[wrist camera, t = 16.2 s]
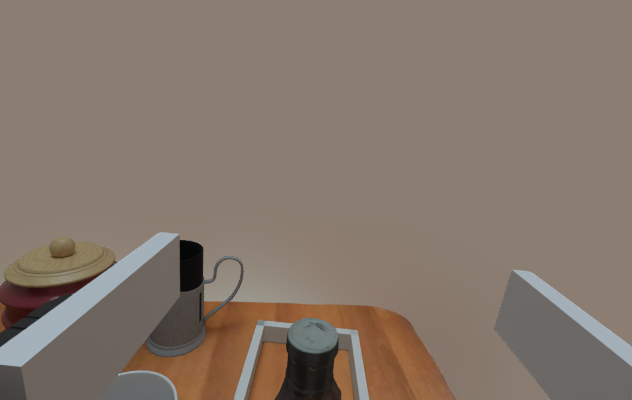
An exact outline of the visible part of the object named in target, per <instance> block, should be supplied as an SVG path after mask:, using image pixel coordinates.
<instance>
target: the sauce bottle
mask: <svg viewBox="0 0 632 400" xmlns="http://www.w3.org/2000/svg"><path fill="white" fill-rule="evenodd" d="M286 349H287V352H288V362H287V369H286V376H285V379H284V382H283V384H282V387H281V389H280V392H279V393H278V395H277V396H276V398H275V400H341V391H340V389H339V388H338V386H337V384H336V382H335V380H334V378H333V367H334V358H335V357H336V355H337V353H338V349H339V336H338V332H337V331H336V329H335V328H334V327H333V326H332V325H331V324H330V323H328V322H326V321H324V320H321V319H315V318H304V319H300V320H298V321H296V322H295V323H294V324H292V325H291V327H290V328H289V330H288V333H287V341H286Z"/></svg>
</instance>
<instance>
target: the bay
mask: <svg viewBox="0 0 632 400" xmlns="http://www.w3.org/2000/svg"><path fill="white" fill-rule="evenodd" d="M291 325H292V324H291V323H281V322H272V321H262V320H258V322H257V326H256V329H255V332H254V335H253V338H252V342H251V345H250V348H249V351H248V355H247V358H246V361H245V364H244V368H243V371H242V374H241V377H240V381H239V384H238V387H237V390H236V394H235V397H234V400H248V398H249V394H250V390H251V386H252V382H253V378H254V374H255V370H256V367H257V363H258V359H259V355H260V351H261V347H262V343H263V341H265V342H274V343H284V344H286V341H287V333H288V330H289V328H290V327H291ZM335 329H336V331H337V332H338V336H339V349H343V350H348V351H349V360H350V368H351V377H352V386H353V394H354V400H369V396H368V390H367V384H366V378H365V372H364V366H363V360H362V354H361V348H360V342H359V336H358V331H357V330H349V329H339V328H335Z"/></svg>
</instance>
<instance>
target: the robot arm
mask: <svg viewBox="0 0 632 400" xmlns="http://www.w3.org/2000/svg"><path fill="white" fill-rule="evenodd" d="M179 297H180V238H179V234H173V233H163V232H159V233H158V234H156V235H155V236H154V237H152V238H151V239H150V240H148V241H147V242H145V243H144V244H143V245H141V246H140V247H138V248H137V249H136V250H134V251H133V252H131V253H130V254H129V255H127V256H126V257H125V258H123V259H122V260H120V261H119V262H118V263H116V264H115V265H113V266H112V267H111V268H109V269H108V270H107V271H105V272H104V273H102V274H101V275H100V276H98V277H97V278H95V279H94V280H93V281H91V282H90V283H89V284H87V285H86V286H84V287H83V288H82V289H80V290H79V291H77V292H76V293H75V294H65V295H63V296H60V297H58V298H56V299H53V300H51V301H49V302H46V303H44V304H43V305H41V306H40V307H38V308H37V309H35V310H34V311H32V312H31V313H29V314H28V315H26V317H25V319H24V318H22V319H20V320H19V321H17V322H16V323H15V324H13V325H12V326H10V329H6V330H4V331H3V332H1V333H0V400H99V399H100V398H101V397H102V395H103V394H104V393H105V392H106V390H107V389H108V388H109V386H110V385H111V384H112V383H113V381H114V380H115V379H116V378H117V376H118V375H119V374H120V372H121V371H122V370H123V369H124V367H125V366H126V365H127V363H128V362H129V361H130V360H131V358H132V357H133V356H134V355H135V353H136V352H137V351H138V349H139V348H140V347H141V346H142V344H143V343H144V342H145V340H146V339H147V338H148V337H149V335H150V334H151V333H152V331H153V330H154V329H155V328H156V326H157V325H158V324H159V323H160V321H161V320H162V319H163V317H164V316H165V315H166V314H167V312H168V311H169V310H170V308H171V307H172V306H173V305H174V303H175V302H176V301H177V299H178V298H179ZM494 330H495V331H496V332H497V333H498V335H499V336H500V337H501V338H502V340H503V341H504V342H505V343H506V345H507V346H508V347H509V348H510V350H511V351H512V352H513V353H514V354H515V356H516V357H517V358H518V359H519V361H520V362H521V363H522V364H523V366H524V367H525V368H526V369H527V370H528V372H529V373H530V374H531V375H532V377H533V378H534V379H535V380H536V382H537V383H538V384H539V385H540V387H541V388H542V389H543V390H544V392H545V393H546V394H547V395H548V397H549V398H550V399H551V400H632V346H630V345H629V344H627V343H626V342H625V341H624V340H622V339H621V338H619V337H618V336H617V335H615V334H614V333H613V332H611V331H610V330H609V329H607V328H606V327H604V326H603V325H602V324H601V323H599V322H598V321H597V320H595V319H594V318H593V317H591V316H590V315H588V314H587V313H586V312H585V311H583V310H582V309H580V308H579V307H578V306H576V305H575V304H574V303H572V302H571V301H570V300H568V299H567V298H566V297H564V296H563V295H562V294H560V293H559V292H558V291H556V290H555V289H554V288H552V287H551V286H550V285H548V284H547V283H546V282H544V281H543V280H541V279H540V278H539V277H537V276H536V275H535V274H533V273H532V272H530V271H520V270H512V271H511V274H510V278H509V281H508V284H507V287H506V291H505V294H504V297H503V301H502V304H501V308H500V311H499V314H498V317H497V320H496V324H495V327H494Z"/></svg>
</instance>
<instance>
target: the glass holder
mask: <svg viewBox="0 0 632 400" xmlns="http://www.w3.org/2000/svg"><path fill="white" fill-rule="evenodd" d="M227 259H233V260H236V261H238V262H239V263H240V265H241V276H240V280H239V283H238V285H237V287H236V289H235V290H234V292H233V293H232V295H231V296H230V297H229V298H228V299H227V300H226V301H224V302H223V303H222V304H221V305H219V306H218V307H216V308H215V309H214V310H212V311H211V312H210V313H209V314H208V315H206V316H205V318H204V284H206V283H211V282H213V281H214V280H215V278H216V272H217V268H218V266H219V264H220V263H221V262H222V261H224V260H227ZM242 279H243V264H242V262H241V261H240V259H238V258H237V257H234V256H225V257H223V258H221V259H220V260H219V261H218V262H217V263H216V265H215V268H214V276H213V278H212V279H210V280H204V277H203V247H202V246H201V245H200V244H198V243H196V242H192V241H186V240H180V297H179V298H178V299H177V301H176V302H175V303H174V305H173V306H172V307H171V308H170V310H169V311H168V312H167V314H166V315H165V316H164V317H163V319H162V320H161V321H160V323H159V324H158V325H157V326H156V328H155V329H154V330H153V331H152V333H151V334H150V335H149V337H148V338H147V340H146V346H147V348H148V350H149V351H150V352H151V353H153V354H155V355H158V356H162V357H174V356H180V355H183V354H186V353H189V352H191V351H192V350H194V349H196V348H197V347H198V346H199V345H200V344H202V342H203V341H204V339H205V337H206V329H205V324H206V320H207V319H208V318H209V317H210V316H211V315H213V314H214V313H215V312H217V311H218V310H219V309H221V308H222V307H223V306H225V305H226V304H227V303H228V302H229V301H230V300H232V299H233V297H234V296H235V294H236V293H237V291H238V289H239V288H240V285H241V282H242ZM203 319H204V322H203Z"/></svg>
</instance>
